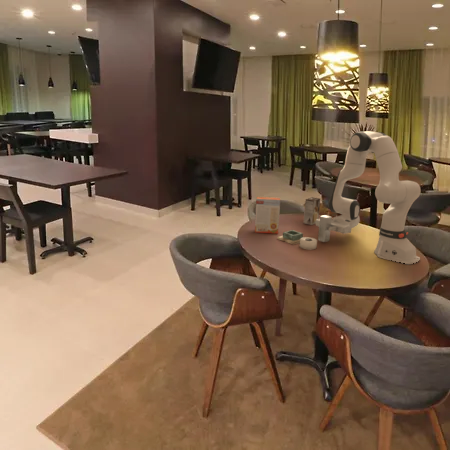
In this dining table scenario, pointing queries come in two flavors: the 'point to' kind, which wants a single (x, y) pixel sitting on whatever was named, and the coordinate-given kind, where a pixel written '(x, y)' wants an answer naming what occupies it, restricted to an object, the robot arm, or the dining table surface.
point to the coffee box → (311, 210)
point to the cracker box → (267, 215)
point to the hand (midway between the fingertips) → (323, 227)
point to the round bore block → (308, 243)
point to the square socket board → (291, 237)
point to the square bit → (324, 228)
